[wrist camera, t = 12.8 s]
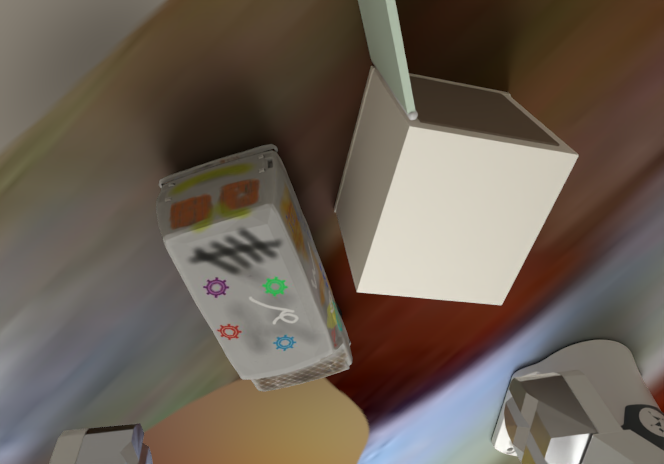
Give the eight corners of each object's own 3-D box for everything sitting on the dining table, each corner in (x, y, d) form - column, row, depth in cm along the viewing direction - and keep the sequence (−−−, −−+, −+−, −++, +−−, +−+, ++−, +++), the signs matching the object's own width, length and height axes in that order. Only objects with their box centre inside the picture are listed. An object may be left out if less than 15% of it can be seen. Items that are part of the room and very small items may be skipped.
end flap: (352, -127, 35) (420, -127, 21) (389, 58, 42) (459, 149, 28) (317, -116, 35) (362, -109, 21) (360, 67, 42) (415, 162, 28)
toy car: (258, 357, 59) (259, 435, 51) (156, 168, 45) (136, 234, 37) (349, 329, 58) (366, 404, 50) (276, 130, 44) (283, 188, 36)
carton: (454, 224, 52) (502, 306, 42) (333, 208, 49) (354, 292, 39) (508, 91, 45) (581, 153, 35) (371, 64, 42) (408, 123, 32)
